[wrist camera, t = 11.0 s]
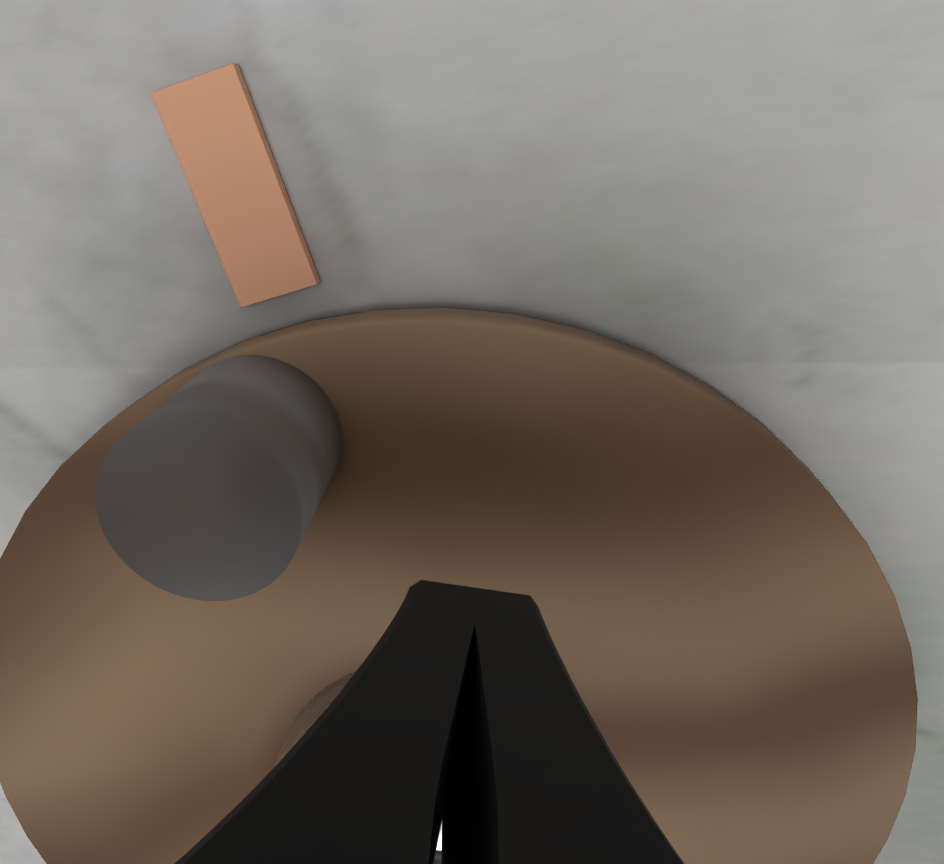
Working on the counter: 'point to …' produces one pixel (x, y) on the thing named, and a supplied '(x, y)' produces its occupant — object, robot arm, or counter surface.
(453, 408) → the disc
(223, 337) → the counter surface
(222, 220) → the salmon orange flat slab
